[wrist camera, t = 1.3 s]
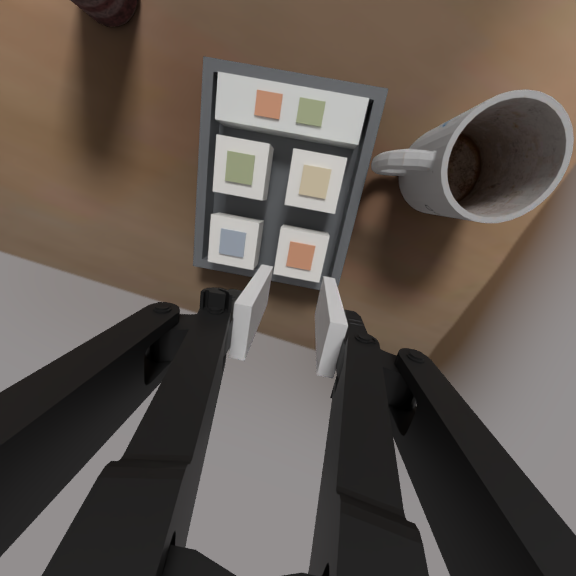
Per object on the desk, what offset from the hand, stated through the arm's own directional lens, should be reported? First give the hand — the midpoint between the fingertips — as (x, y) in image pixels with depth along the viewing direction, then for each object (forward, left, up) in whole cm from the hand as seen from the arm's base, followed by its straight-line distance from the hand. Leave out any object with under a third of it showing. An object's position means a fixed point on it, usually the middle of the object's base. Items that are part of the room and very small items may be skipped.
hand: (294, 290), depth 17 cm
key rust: (0, 0, -13) cm, 13 cm away
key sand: (0, +7, -13) cm, 15 cm away
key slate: (-7, 0, -13) cm, 15 cm away
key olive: (-7, +7, -13) cm, 17 cm away
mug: (+11, +11, -16) cm, 22 cm away
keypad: (-4, +6, -16) cm, 17 cm away
